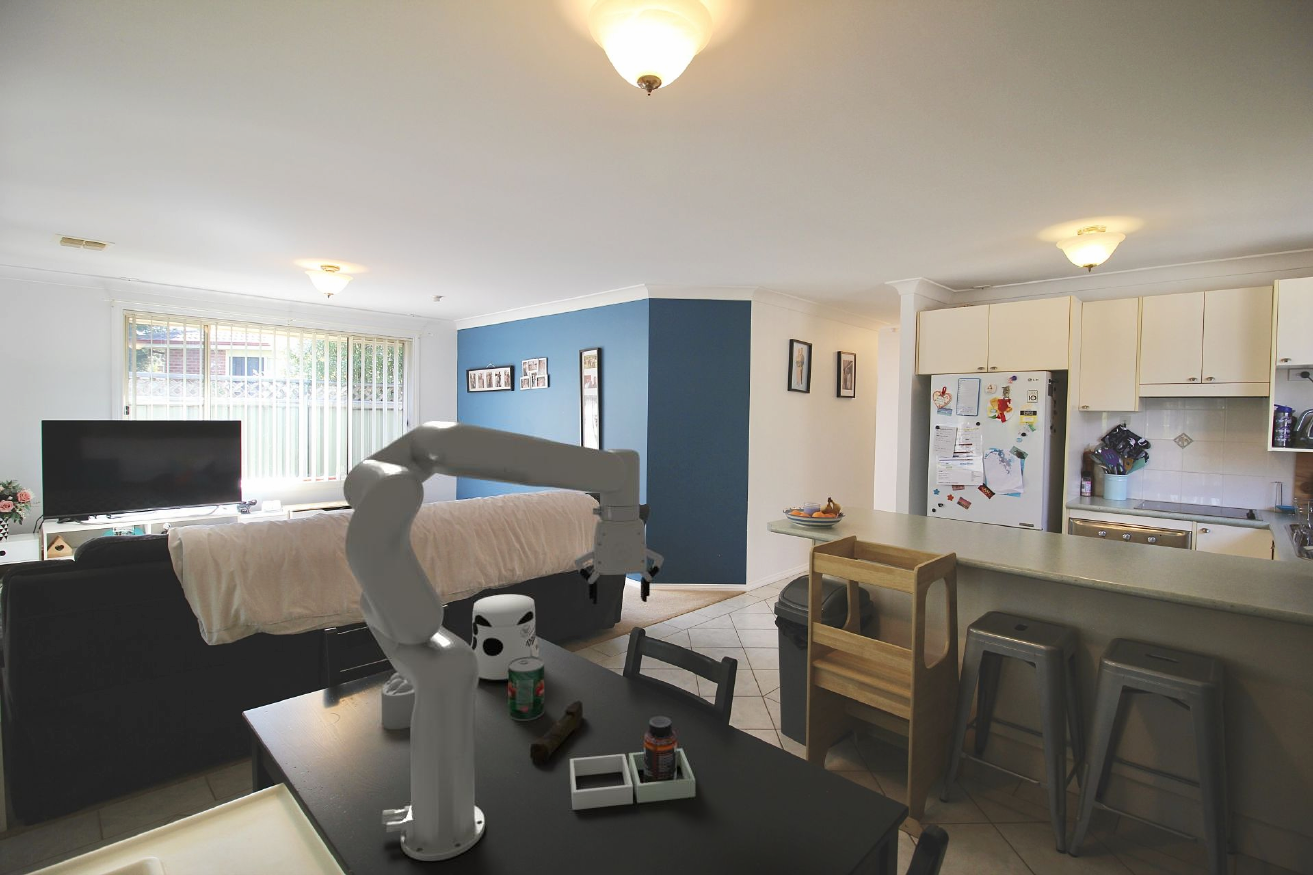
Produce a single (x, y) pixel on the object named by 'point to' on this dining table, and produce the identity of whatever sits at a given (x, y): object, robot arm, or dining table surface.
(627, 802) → the grey bin
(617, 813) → the dining table surface
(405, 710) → the lumpy-topped squat cylinder
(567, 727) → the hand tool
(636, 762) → the sage bin
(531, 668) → the canned tomato
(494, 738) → the dining table surface
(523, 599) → the milk container
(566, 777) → the dining table surface
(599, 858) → the dining table surface
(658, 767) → the supplement bottle
